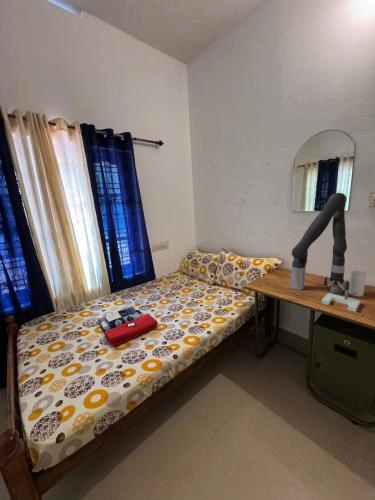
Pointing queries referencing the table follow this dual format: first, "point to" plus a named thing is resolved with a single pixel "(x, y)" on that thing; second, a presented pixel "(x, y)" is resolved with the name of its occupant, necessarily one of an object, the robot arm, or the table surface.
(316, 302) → the table surface
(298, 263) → the robot arm
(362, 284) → the cup
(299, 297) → the table surface
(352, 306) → the board
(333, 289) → the grooved grey cylinder
